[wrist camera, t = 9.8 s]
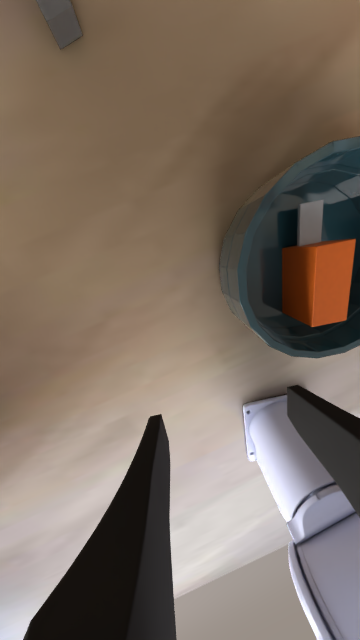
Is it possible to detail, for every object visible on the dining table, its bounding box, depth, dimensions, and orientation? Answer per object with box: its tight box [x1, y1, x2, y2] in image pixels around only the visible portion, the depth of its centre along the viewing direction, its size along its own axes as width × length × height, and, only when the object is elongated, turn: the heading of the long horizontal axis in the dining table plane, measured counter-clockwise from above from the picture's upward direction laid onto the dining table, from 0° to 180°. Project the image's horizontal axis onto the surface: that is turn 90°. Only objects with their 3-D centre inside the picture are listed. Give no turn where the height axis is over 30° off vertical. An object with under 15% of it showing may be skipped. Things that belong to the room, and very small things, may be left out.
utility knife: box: [282, 200, 356, 327], centre depth 15 cm, size 9×3×4 cm, turn 10°
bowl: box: [219, 136, 360, 358], centre depth 15 cm, size 14×14×5 cm
